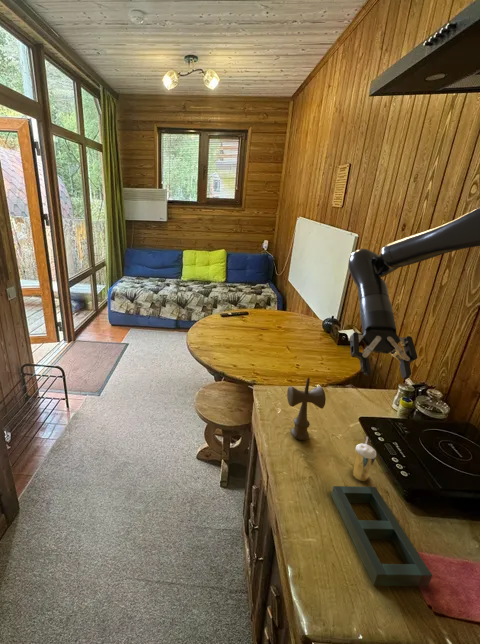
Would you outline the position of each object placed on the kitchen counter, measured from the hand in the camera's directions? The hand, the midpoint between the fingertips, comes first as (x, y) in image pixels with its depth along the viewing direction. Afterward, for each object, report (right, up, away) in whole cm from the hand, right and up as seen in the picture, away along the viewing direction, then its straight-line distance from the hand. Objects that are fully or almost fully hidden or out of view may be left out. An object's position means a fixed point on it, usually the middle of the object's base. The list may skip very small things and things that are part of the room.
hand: (386, 376), depth 74 cm
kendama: (-14, -22, +19) cm, 33 cm away
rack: (-8, -31, -9) cm, 34 cm away
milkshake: (-3, -27, +6) cm, 28 cm away
